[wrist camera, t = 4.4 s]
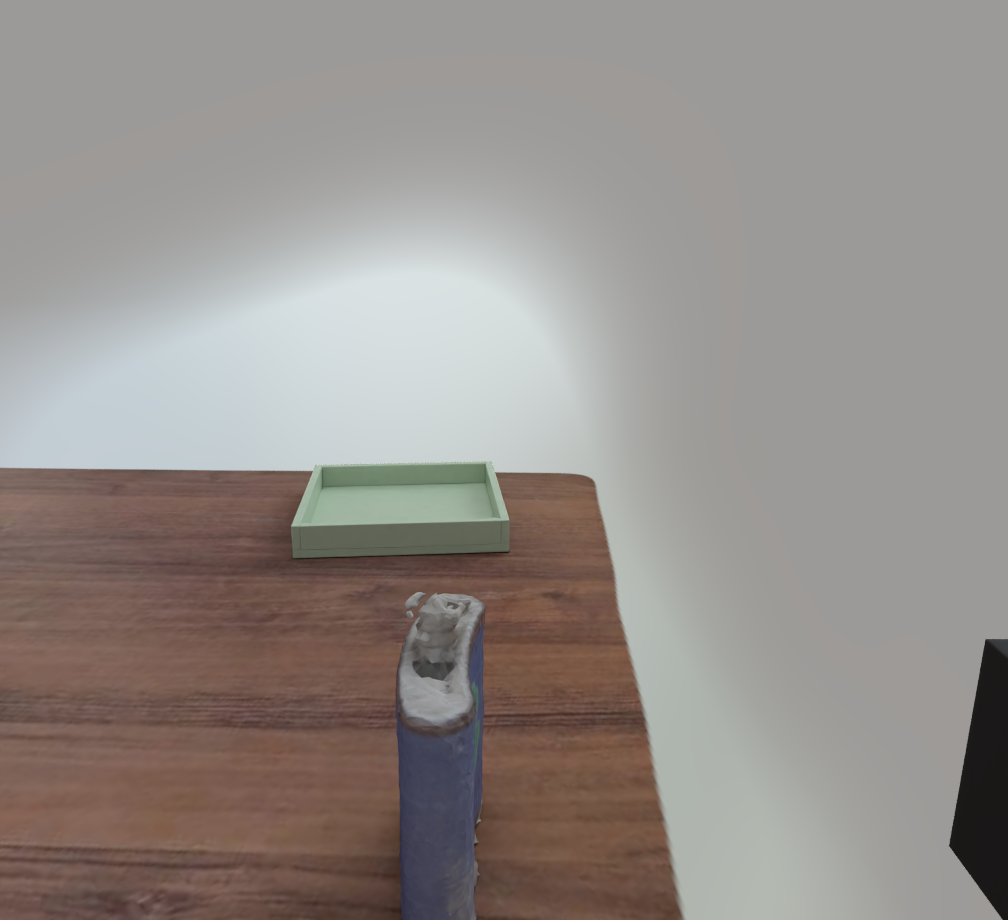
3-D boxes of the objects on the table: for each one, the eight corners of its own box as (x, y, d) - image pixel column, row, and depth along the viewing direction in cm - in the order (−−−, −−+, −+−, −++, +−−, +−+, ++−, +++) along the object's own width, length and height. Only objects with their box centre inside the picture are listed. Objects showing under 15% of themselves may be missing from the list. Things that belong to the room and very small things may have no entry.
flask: (475, 967, 28) (472, 666, 25) (383, 966, 28) (370, 665, 25) (487, 784, 36) (486, 547, 34) (418, 783, 36) (410, 546, 34)
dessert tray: (491, 487, 76) (491, 461, 76) (509, 551, 62) (509, 520, 61) (316, 491, 75) (315, 465, 74) (292, 558, 60) (290, 526, 60)
